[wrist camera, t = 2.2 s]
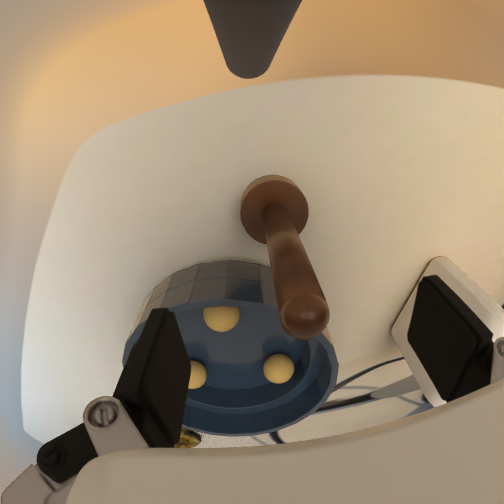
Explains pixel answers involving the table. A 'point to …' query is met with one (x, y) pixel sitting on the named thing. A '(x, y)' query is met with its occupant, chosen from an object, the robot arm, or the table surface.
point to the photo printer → (471, 294)
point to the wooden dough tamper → (286, 252)
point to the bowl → (241, 351)
